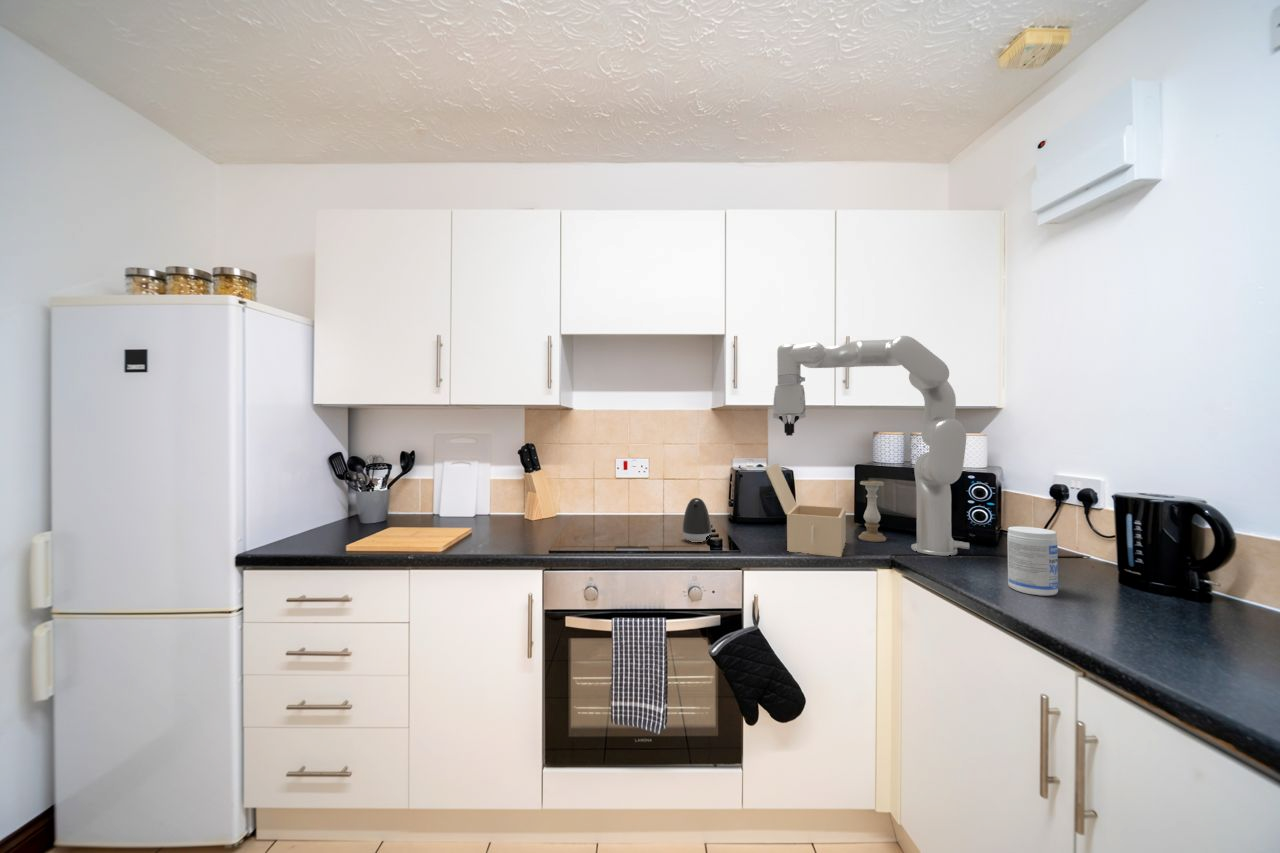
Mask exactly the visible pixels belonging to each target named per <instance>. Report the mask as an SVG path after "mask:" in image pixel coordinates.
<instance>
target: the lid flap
mask: <svg viewBox="0 0 1280 853" xmlns="http://www.w3.org/2000/svg"><path fill="white" fill-rule="evenodd" d="M764 469H765V472H766V474H767V476H768V479H769V481H770V482H771V485H772V487H773V489H774V492H775V494H776V496H777V498H778V501H779V502H780V506H781V508H782V510H783V512H784V515H787V514H788V513H789V512H790V511H791V510H792V509H793V508H794V507H795V506H796V505H798V504H797V502H796V500H795V498H794V495H793V493H792V491H791V489H790V486H789V484H788V482H787V480H786V478H785V475H784V473H783V471H782V469H781V466H780V464H779V463H776V464H773V465H770V466H767V467H765V468H764Z"/></svg>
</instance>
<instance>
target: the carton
mask: <svg viewBox="0 0 1280 853" xmlns="http://www.w3.org/2000/svg"><path fill="white" fill-rule="evenodd" d="M846 516H847V515H846V507H834V506H833V507H831V506H817V505H803V504H802V505H801V504H797V505H796V506H795V507H794V508H793V509H792V510H791V511H790V512H789V513H788V514H786V541H787V543H786V546H787V548H786V549H787V550H786V551H789V552H790V553H797V552H802V553H801V554H807V553H809V554H810V555H817V556H827V557H837V558H842V555H843V553H844V550H843V549H845V547H846V544H847V541H846V540H847V538H846V537H847V534H846V532H847V531H846V526H847V525H846V524H847V522H846ZM845 543H846V544H845ZM789 552H788V553H789Z"/></svg>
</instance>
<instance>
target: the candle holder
mask: <svg viewBox="0 0 1280 853" xmlns="http://www.w3.org/2000/svg"><path fill="white" fill-rule="evenodd" d="M859 484H860V485H862V486H865V489H866V491H867V494H866V495H865V497H866V498H867V505H866V509H865V511H864V514H863V519H864V520H865V523H864V526H865V527H866V531H862V532H861V534H858V539H859V540H862V541H866V542H871V543H872V542H873V543H880V542H881V543H882V542H886V541H887V536H884V535H883V533H882V532H879V531H878V528H879V527H880V524H879V522H880V521H881V517H882V516H881V514H880V512H879V509H878V506H877V498H879V496H878V495H877V491H878V490H879V486H881V487H882V486H884V485H885V484H884V482H883V481H879V480H878V481H877V480H861V481H860V482H859Z"/></svg>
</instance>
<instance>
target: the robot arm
mask: <svg viewBox="0 0 1280 853" xmlns="http://www.w3.org/2000/svg"><path fill="white" fill-rule="evenodd" d="M776 354H777V356H776V357H777V358H776V359H777V362H776V364H777V369H776V370H777V373H776V374H777V385H775V388H774V393H773V394H774V395H773V408H772V409H773V415H772V417H773V419H777V420H780V421H781V422H782V423H783V424H784V430H783V431H784V434H785V435H786V436H787V437H789V436H791V437H792V436H793V434H795V424H796V423H797V422H798V420H801V419H804V418H806V417H807V414H806V406H807V405H806V393H805V387H804V384H802V382H803V383H804V382H806V377H804V376H802V375H801V371H802V370H801V365H802V366H804V367H805V368H807V369H808V368H809V369H830V368H831V369H833V368H834V369H835V368H855V367H856V368H857V367H858V368H859V367H860V368H861V367H862V368H863V367H897V366H902V367H903V368H904V369H905V370H907V372H909V374H908V379H909V382H910V385H911V386H913V388H915V389H916V390H917V391H919V392H920V394H921V395H922V397H923V401H924V407H923V408H924V410H923V419H922V427H921V435H920V436H921V439H922V441H923V442H924V444H925V445H927V446H929V448H928V451H927V452H924V453H922V454H920V456H918V457H917V458H916V460H915V462H914V466H913V468H914V469H913V470H914V471H913V472H914V478H915V487H916V488H915V489H916V542H915V543H912V544H911V545H910V546H911V550H912V551H914V552H916V551H917V552H916V553H920V554H925V555H930V556H941V557H942V556H944V557H945V556H946V557H947V556H949V555H951V556H955V555H957V554H958V549H963V550H964V549H965V550H969V549H970V542H966V541H965V542H964V541H959V540H954V538H953V537H952V489H951V485H952V484H954V483H955V482H957V481H958V480H959V479H960V477H961V475H962V473H963V470H964V462H965V454H966V445H967V432H966V429H965V427H964V425H963V423H961V422H960V421H959V420H957V419H956V407H957V406H956V404H957V397H956V393H955V390H954V388H953V387H952V385H951V383H950V381H948V380H949V378H950V370H949V367H948V365H947V364H946V362H944V361H943V360H942V359H941V358H940V357H938V356H937V355H936V354H934V353H933V352H932V351H930V349H928V348H927V347H926V346H924V345H923V344H922V343H921V342H919V341H918V340H916V339H915V338H914V337H911V336H908V335H900V336H897V337H895V338H893V339H877V340H876V339H869V340H861V339H860V340H855V341H850V342H847V343H844V344H840V345H834V346H833V345H831V346H824V345H823V344H822V343H820V342H817V341H816V342H815V341H813V342H812V341H810V342H805V343H799V344H794V343H793V344H792V343H789V344H782V345H779V346H778V347H777V352H776ZM789 415H790V421H789V419H788V417H789Z"/></svg>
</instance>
